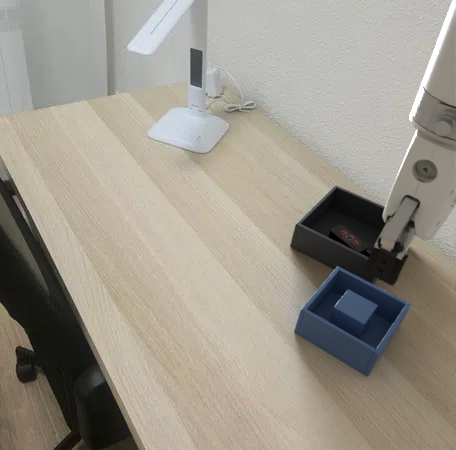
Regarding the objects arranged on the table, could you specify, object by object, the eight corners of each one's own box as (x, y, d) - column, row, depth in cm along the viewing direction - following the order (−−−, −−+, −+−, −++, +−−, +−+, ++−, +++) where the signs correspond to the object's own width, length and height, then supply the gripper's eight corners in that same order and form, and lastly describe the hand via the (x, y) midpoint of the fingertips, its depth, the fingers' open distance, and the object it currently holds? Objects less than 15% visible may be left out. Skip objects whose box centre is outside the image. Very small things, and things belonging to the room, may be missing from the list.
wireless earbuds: (356, 270, 88) (361, 255, 86) (324, 243, 92) (329, 229, 90) (376, 260, 90) (382, 245, 87) (344, 234, 94) (349, 220, 92)
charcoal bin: (404, 242, 94) (414, 219, 91) (370, 288, 86) (379, 265, 82) (328, 206, 101) (335, 184, 97) (289, 246, 92) (295, 223, 89)
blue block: (369, 325, 79) (378, 305, 76) (355, 344, 77) (364, 324, 74) (340, 309, 81) (348, 289, 78) (326, 327, 79) (333, 307, 76)
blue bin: (400, 326, 80) (411, 304, 77) (367, 377, 73) (378, 354, 70) (329, 288, 85) (337, 265, 82) (293, 332, 79) (300, 309, 75)
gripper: (474, 170, 41) (400, 318, 52) (531, 90, 51) (459, 228, 62) (378, 134, 45) (328, 279, 56) (449, 66, 55) (395, 201, 66)
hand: (397, 252), depth 59 cm, fingers open, 9 cm apart
